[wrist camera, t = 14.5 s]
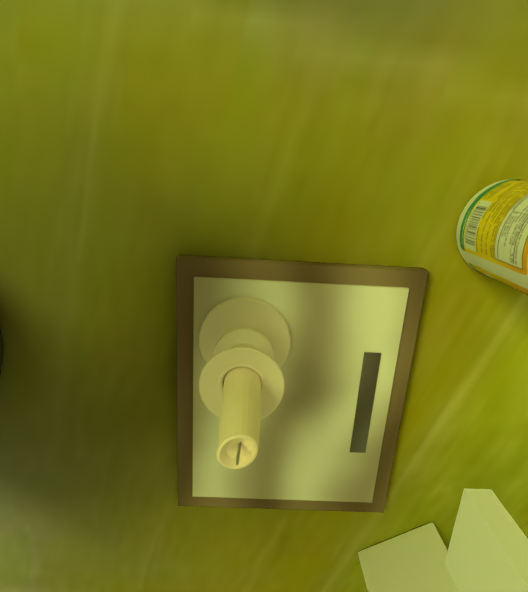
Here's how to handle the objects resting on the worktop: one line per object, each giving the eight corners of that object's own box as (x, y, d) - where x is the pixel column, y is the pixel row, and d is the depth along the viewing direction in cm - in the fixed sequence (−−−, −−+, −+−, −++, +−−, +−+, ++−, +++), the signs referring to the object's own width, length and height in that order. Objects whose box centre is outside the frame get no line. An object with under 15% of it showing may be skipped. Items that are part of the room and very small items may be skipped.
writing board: (180, 496, 28) (177, 508, 27) (178, 254, 23) (175, 258, 22) (380, 503, 28) (384, 515, 27) (423, 267, 23) (430, 272, 22)
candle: (297, 303, 23) (329, 407, 13) (281, 384, 24) (298, 533, 14) (205, 289, 22) (164, 385, 12) (195, 372, 24) (151, 517, 14)
